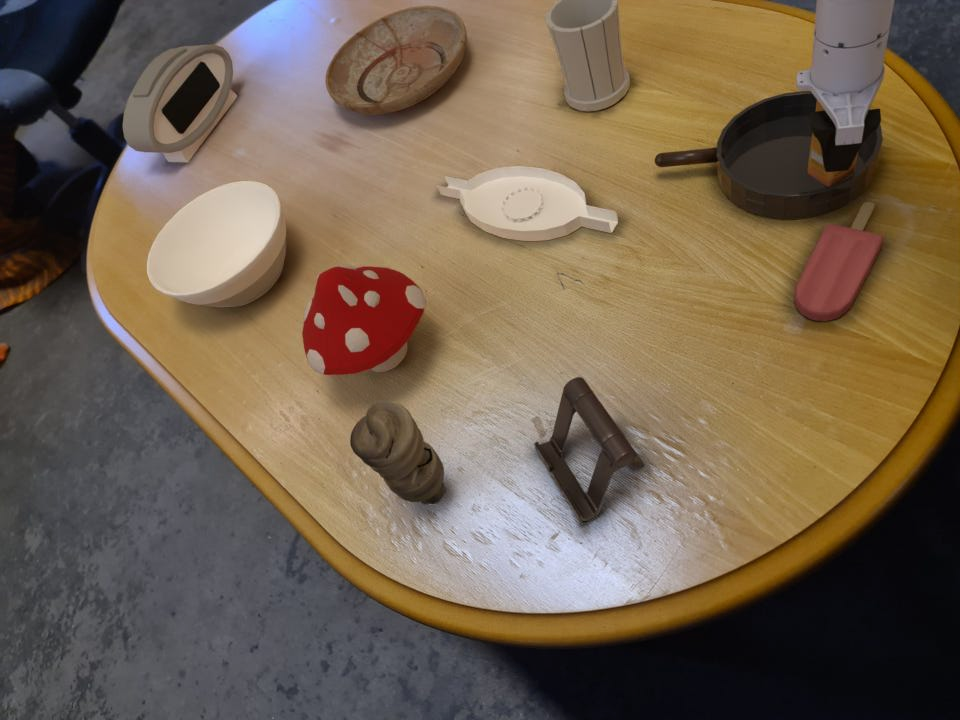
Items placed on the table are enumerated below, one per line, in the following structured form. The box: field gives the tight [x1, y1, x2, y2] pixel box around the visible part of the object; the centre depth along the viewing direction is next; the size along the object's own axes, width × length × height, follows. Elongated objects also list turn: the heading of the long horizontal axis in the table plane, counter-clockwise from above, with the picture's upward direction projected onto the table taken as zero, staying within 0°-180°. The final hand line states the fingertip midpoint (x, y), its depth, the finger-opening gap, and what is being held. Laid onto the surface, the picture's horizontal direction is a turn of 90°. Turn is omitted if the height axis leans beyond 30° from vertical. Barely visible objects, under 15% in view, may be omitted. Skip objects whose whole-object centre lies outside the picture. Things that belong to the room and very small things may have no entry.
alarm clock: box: [122, 43, 238, 163], centre depth 116 cm, size 23×6×13 cm, turn 158°
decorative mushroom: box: [301, 263, 427, 376], centre depth 74 cm, size 14×14×15 cm
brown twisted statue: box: [349, 399, 447, 505], centre depth 62 cm, size 6×6×15 cm
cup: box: [545, 0, 631, 112], centre depth 90 cm, size 10×9×12 cm
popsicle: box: [794, 201, 885, 322], centre depth 68 cm, size 5×2×15 cm
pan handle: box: [654, 147, 725, 168], centre depth 79 cm, size 8×2×2 cm, turn 78°
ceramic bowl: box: [324, 5, 468, 115], centre depth 108 cm, size 23×24×5 cm
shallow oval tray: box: [436, 165, 619, 242], centre depth 85 cm, size 10×25×2 cm, turn 58°
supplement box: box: [807, 100, 858, 187], centre depth 68 cm, size 3×3×10 cm
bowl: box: [146, 180, 287, 308], centre depth 92 cm, size 19×20×8 cm
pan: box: [716, 90, 884, 221], centre depth 75 cm, size 16×16×4 cm
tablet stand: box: [533, 376, 645, 525], centre depth 61 cm, size 9×8×8 cm
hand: (835, 151), depth 69 cm, fingers closed on supplement box, 4 cm apart
